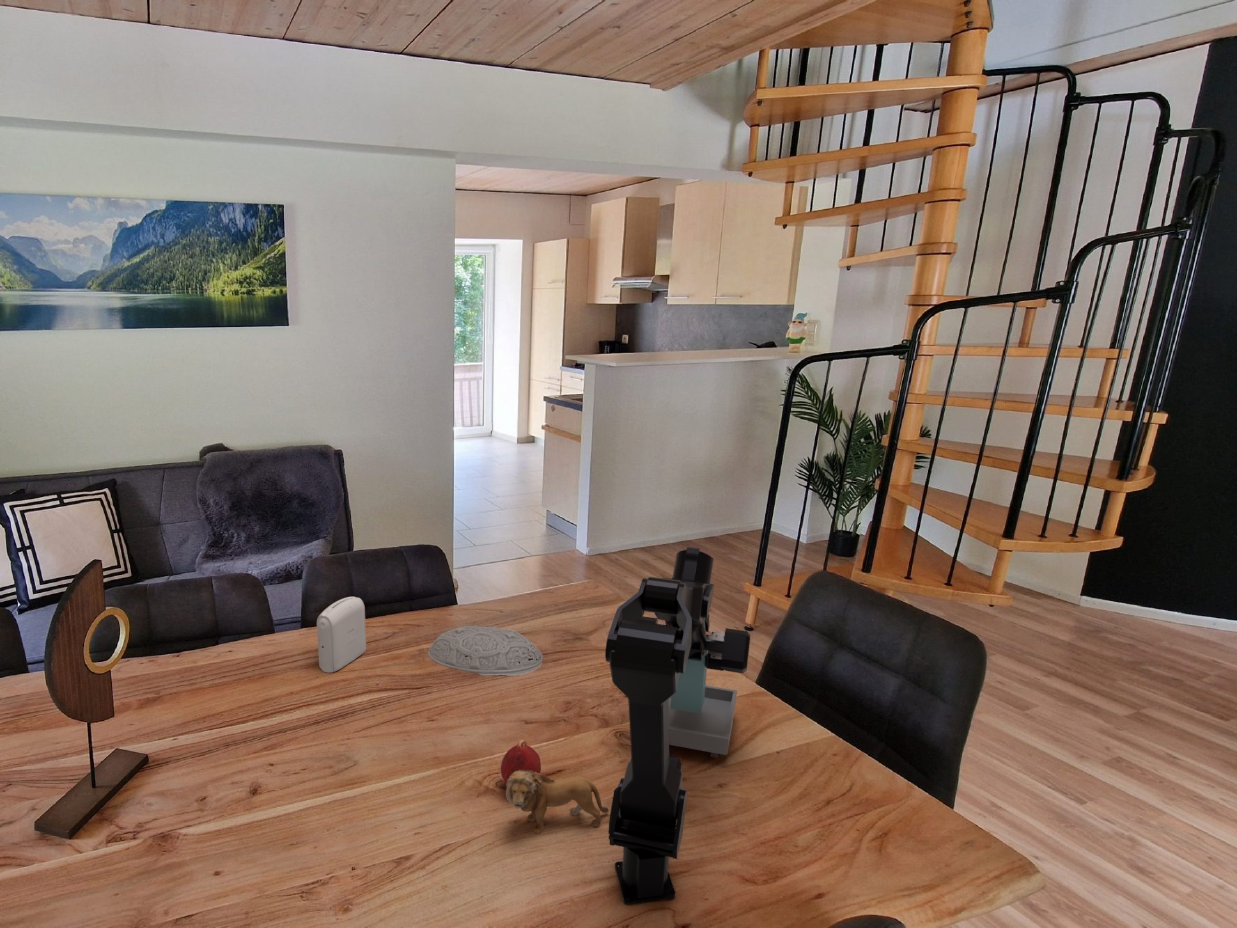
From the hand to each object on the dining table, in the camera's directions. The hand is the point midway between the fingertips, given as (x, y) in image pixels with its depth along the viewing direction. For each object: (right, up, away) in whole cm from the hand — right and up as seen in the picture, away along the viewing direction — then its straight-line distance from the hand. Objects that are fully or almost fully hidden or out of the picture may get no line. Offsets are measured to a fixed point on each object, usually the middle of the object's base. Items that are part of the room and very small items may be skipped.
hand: (691, 660), depth 125 cm
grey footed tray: (-1, -13, +2) cm, 13 cm away
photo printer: (-65, -6, +20) cm, 69 cm away
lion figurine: (-21, -17, -21) cm, 34 cm away
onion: (-27, -15, -14) cm, 34 cm away
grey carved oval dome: (-39, -6, +25) cm, 47 cm away
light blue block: (-1, -7, 0) cm, 7 cm away
